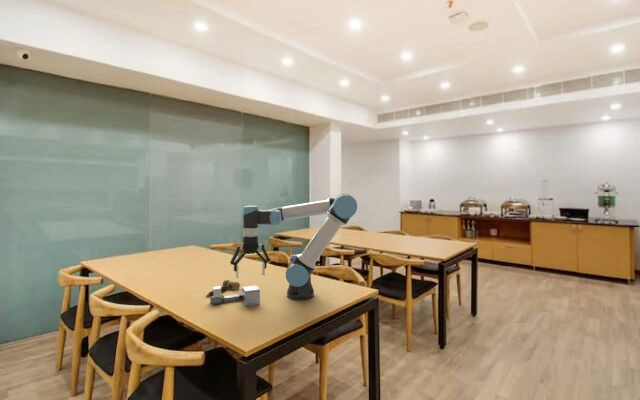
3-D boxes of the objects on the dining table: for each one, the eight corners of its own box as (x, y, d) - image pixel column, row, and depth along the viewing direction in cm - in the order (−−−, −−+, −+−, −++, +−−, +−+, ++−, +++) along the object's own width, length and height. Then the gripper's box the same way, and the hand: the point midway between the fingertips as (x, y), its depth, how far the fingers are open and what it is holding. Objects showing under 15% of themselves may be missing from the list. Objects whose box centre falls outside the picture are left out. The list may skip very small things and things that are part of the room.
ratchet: (251, 295, 180) (251, 281, 180) (254, 299, 174) (254, 285, 173) (209, 301, 171) (209, 286, 170) (211, 305, 164) (210, 290, 164)
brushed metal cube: (256, 299, 173) (256, 285, 173) (259, 304, 166) (259, 289, 166) (242, 301, 170) (242, 286, 170) (245, 306, 163) (245, 291, 163)
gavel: (212, 293, 174) (199, 290, 179) (212, 302, 174) (200, 298, 179) (239, 281, 192) (227, 278, 197) (240, 288, 193) (228, 286, 198)
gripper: (271, 233, 175) (271, 271, 176) (224, 235, 165) (224, 276, 166) (275, 235, 168) (275, 275, 169) (226, 238, 158) (226, 280, 159)
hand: (250, 276), depth 168 cm, fingers open, 13 cm apart
